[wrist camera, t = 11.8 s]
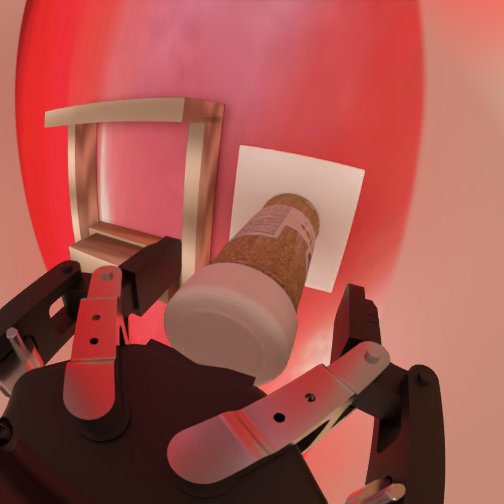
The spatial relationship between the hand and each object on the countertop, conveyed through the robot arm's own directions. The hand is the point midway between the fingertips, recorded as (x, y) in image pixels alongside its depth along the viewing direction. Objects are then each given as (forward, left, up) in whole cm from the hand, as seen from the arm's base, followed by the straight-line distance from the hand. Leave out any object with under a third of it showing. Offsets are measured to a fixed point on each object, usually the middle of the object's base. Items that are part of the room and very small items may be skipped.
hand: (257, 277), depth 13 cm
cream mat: (0, 0, -10) cm, 10 cm away
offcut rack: (0, -14, -10) cm, 17 cm away
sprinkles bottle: (0, 0, -9) cm, 9 cm away
